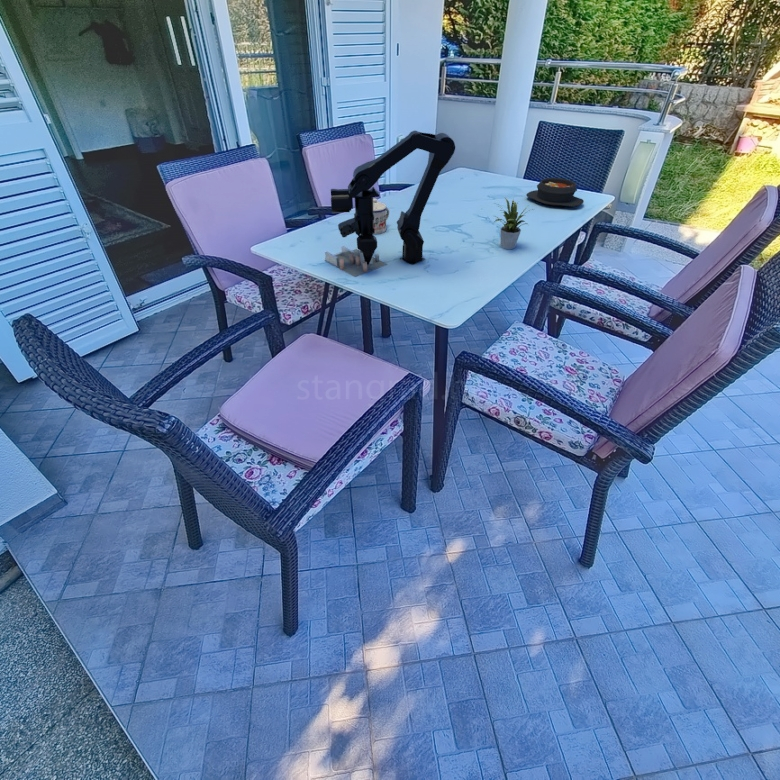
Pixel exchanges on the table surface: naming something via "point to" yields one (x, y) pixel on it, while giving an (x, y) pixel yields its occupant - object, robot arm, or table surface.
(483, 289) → the table surface
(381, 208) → the teacup with lid
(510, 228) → the house plant
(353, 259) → the pegs
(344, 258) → the mat
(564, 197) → the casserole
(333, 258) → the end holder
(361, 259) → the block
